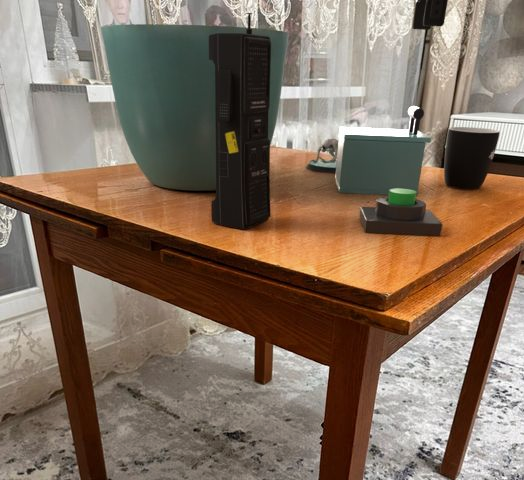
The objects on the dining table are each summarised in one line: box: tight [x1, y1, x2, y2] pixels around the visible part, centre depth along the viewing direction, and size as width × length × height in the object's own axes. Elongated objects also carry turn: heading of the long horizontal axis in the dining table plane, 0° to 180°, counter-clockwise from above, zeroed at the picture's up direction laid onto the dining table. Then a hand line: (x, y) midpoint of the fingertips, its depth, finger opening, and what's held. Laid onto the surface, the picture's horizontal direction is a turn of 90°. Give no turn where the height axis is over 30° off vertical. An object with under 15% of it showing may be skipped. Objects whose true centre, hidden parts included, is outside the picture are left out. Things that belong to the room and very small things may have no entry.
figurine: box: [305, 138, 339, 174], centre depth 115 cm, size 11×12×6 cm
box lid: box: [338, 105, 432, 143], centre depth 94 cm, size 14×12×5 cm
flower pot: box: [100, 23, 290, 192], centre depth 93 cm, size 30×30×24 cm
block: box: [358, 196, 443, 237], centre depth 75 cm, size 10×8×4 cm
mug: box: [443, 126, 500, 190], centre depth 103 cm, size 12×9×10 cm
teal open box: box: [334, 131, 427, 197], centre depth 98 cm, size 14×12×9 cm
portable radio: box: [209, 12, 272, 231], centre depth 69 cm, size 8×6×25 cm
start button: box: [388, 188, 418, 205], centre depth 74 cm, size 4×4×2 cm
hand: (426, 27), depth 90 cm, fingers open, 9 cm apart
